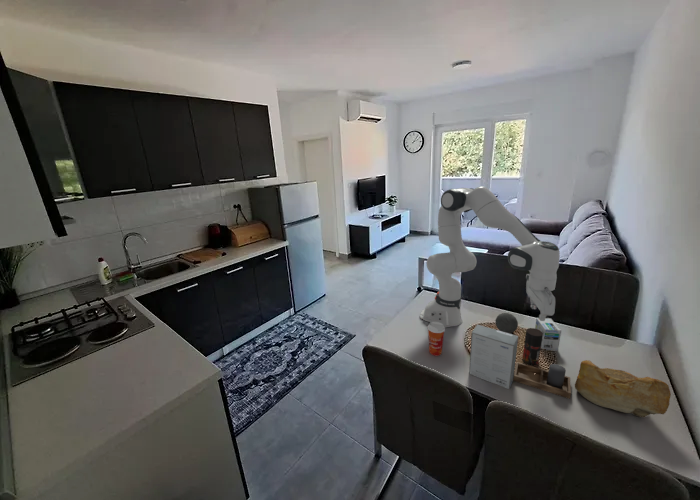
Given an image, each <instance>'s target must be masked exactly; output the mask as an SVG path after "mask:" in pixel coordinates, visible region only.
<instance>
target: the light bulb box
mask: <svg viewBox="0 0 700 500" xmlns="http://www.w3.org/2000/svg"><path fill="white" fill-rule="evenodd" d="M534 328H535V329H538V330H540V331H541V332H542V333H543V337H542V343H541V350H542V349H546V350H545V351H555V352H558V351H559V348H560V342H561V336H562V329H561V328H560V327H559V326H558V325H557V324H556V323H555V321H554V320H553V319H552V318H549V317H546V318H545V321H540V319H539V317H536V320H535V327H534Z"/></svg>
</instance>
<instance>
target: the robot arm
mask: <svg viewBox="0 0 700 500" xmlns="http://www.w3.org/2000/svg"><path fill="white" fill-rule="evenodd" d="M440 197H441V198H440V204H441V206H440V208H439V209H438V216H437V225H438V226H437V227H438V228H437V230H438V231H437V233H438V240H439V242H440V244H442V245H444V246H447V247H448V249H449V252H439V253H435V254H433V255H428V257H427V260H426V268H427V270H428V271H429V273H430V274H432V275H433V276H434V277H435V278H436V279H437V283H438V291H437V293H436V295H435V297H434V299H433V300H432V301H430V302H428V303H427V304H426V306H425V307H424V309H422V311H421V312H420V315H419V318H420V320H422V319H423V320H422V321H425V322H428V323H429V324H430V323H431V322H439V323H442V324H443V325H444V327H445V329H446V328H449V327H457V326H460V325H461V324H462V323H463V318H462V312H461V307H462V296H461V294H462V284H461V282H460V281H459V280H458V279H457V278H454V277H452V275H453V274H457V273H466V272H471V271H472V270H474V269H475V268H476V266H477V257H476V256H475V254H474V253H473V252H472V251H470V250H469V249H468V248H467V247H466V245H465V244H464V242H463V238H462V225H461V215H462V213H468V212H470V211H473V212H474V214H475V215H476V217H477V218H478V220H479V221H480V222H481V223H482V224H483V225H484V226H485V227H489V228H492V229H499V230H503V231H506V232H508V233H510V234H511V235H512V236H513V237H514V238H515V239H516V240H517V241H518V242H519V244H520V246H516V247H513V248H511V249H510V250H509V251H508V253H507V261H508V264H509V265H510V267H512V268H513V269H514V270H517V271H525V272H527V271H528V272H529V273H526V276H525V279H526V285H525V286H526V287H525V289H526V290H525V291H526V294H527V295H528V297H529V300H530V308H531V309H532V310H537V308H538V310H539V311H540V314H539V315H538V318H539V319H540V321H545V318H547V317H548V316H554V314H555V309H556V297H555V296H554V294H553V293H552V291H554V290H556V289H555V288H556V283H557V279H558V277H557V276H558V275H557V271H558V269H559V266H560V259H561V258H560V256H561V255H560V254H561V253H560V249H559V247H558V245H556V244H555V243H552V242H550V241H544V240H541V239H539V238H538V237H537V236H536V235H534V233H533V232H531V230H530V229H529V228H528V227H527V226H526V225H525V224H524V223H523V221H521V220H520V219H519V218H518V217H517V216H515V215H514V214H513V213H511V211H509V210H508V209H507V208H506V207H505V206H504V204H503V203H502V202H501V201H500V200H499V198H498V197H497V196H496V195H495V193H493V192H492V191H491V190H490V189H489V188H488V187H486V186H478V187H475V188H472V187H471V188H468V187H460V188H450V189H447V190H445V191H444V192H443V193H442V195H441V196H440ZM421 315H422V316H421Z"/></svg>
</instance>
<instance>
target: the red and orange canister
mask: <svg viewBox="0 0 700 500" xmlns="http://www.w3.org/2000/svg"><path fill="white" fill-rule="evenodd" d="M426 328H427V332H428V351H429V354H430V355H432V356H434V357H437V356H440V355H442V353H443V352H442V351H443V343H444V335H445V331H446V328H445V327H444V325H443V324H442V323H439V322H431V323H430V322H429V324H428V325H427V327H426Z"/></svg>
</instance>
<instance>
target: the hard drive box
mask: <svg viewBox="0 0 700 500" xmlns="http://www.w3.org/2000/svg"><path fill="white" fill-rule="evenodd" d="M518 342H519V336H518V335H516V334H512V333H506V332H502V331H500V330H499V329H496V328H492V327H488V326H483V325H480V324H476V326H475V327H474V328H473V330H472V331H471V338H470V353H469V355H470V356H469V367H468V368H469V369H468V371H469V372H468V374H469V375H471V376H474V377H477V378H478V379H480V380H481V379H482V380H484V381H486V382H488V383H492V384H496V385H498V386H500V387H502V388H505V389H508V390H510V389H511V386H512V383H513V382H514V381H513V379H514V373H515V368H516V362H517V361H516V360H517V352H518V351H517V350H518Z"/></svg>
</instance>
